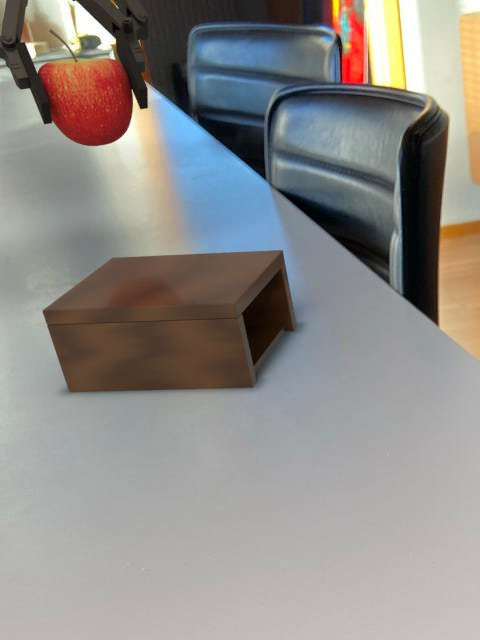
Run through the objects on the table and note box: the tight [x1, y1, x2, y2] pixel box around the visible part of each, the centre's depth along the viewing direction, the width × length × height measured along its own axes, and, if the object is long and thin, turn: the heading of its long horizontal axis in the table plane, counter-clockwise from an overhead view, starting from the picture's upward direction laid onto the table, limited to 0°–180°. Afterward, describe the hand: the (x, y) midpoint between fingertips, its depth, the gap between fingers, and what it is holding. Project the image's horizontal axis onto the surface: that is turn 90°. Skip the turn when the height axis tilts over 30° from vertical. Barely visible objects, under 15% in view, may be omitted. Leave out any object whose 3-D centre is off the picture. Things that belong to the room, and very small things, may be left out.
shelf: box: [42, 249, 298, 393], centre depth 87 cm, size 16×14×7 cm
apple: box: [37, 28, 134, 147], centre depth 98 cm, size 8×8×10 cm
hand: (96, 106), depth 96 cm, fingers closed on apple, 8 cm apart
